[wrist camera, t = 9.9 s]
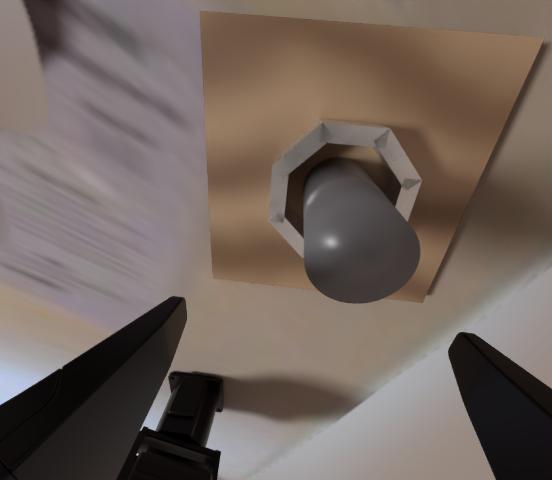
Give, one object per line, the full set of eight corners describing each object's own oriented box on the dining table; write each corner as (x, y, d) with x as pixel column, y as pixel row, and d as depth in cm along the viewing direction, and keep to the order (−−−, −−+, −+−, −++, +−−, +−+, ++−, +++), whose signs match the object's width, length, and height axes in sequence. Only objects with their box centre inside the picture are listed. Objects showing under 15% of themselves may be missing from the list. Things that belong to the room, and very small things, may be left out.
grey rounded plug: (359, 221, 19) (399, 309, 11) (299, 215, 19) (298, 296, 11) (375, 160, 17) (438, 215, 9) (307, 153, 17) (312, 201, 9)
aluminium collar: (381, 249, 20) (391, 268, 18) (269, 237, 20) (265, 253, 18) (420, 127, 16) (439, 132, 14) (278, 114, 16) (275, 117, 14)
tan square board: (416, 293, 23) (422, 303, 22) (216, 270, 24) (212, 278, 23) (527, 41, 14) (544, 37, 13) (206, 16, 15) (199, 10, 14)
